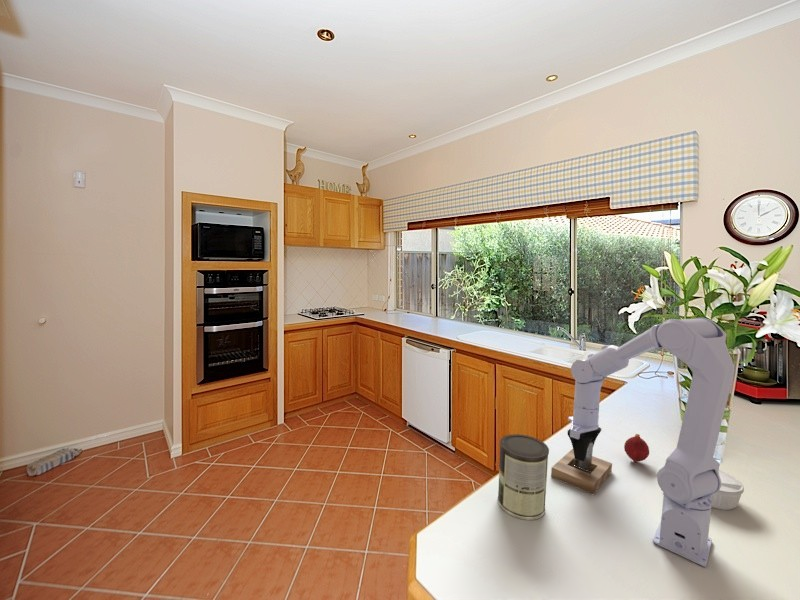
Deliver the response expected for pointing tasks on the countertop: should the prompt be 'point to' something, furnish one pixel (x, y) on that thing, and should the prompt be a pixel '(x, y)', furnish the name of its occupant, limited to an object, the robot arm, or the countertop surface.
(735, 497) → the ramekin
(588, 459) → the brushed metal cylinder
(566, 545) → the countertop surface
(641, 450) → the onion
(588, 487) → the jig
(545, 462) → the coffee can
